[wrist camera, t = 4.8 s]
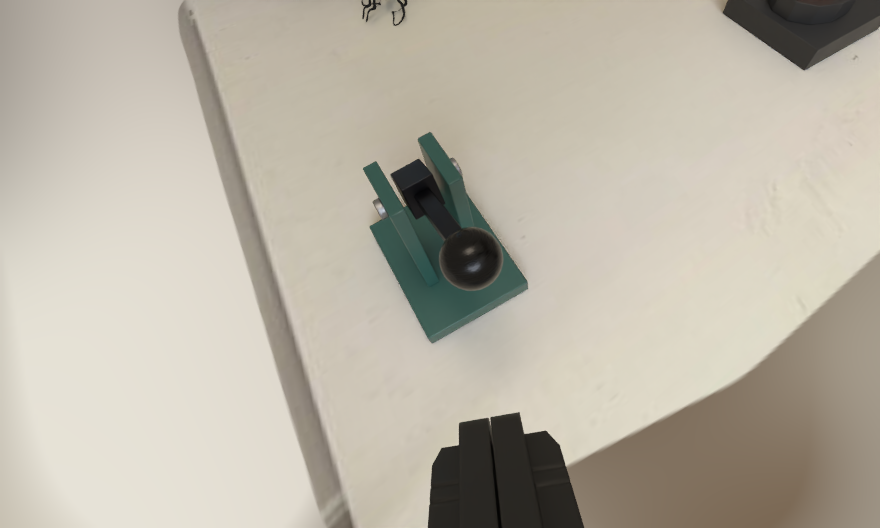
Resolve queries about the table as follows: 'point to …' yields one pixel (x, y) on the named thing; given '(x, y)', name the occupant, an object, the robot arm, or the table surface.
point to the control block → (806, 25)
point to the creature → (380, 4)
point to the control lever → (450, 231)
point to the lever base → (436, 249)
